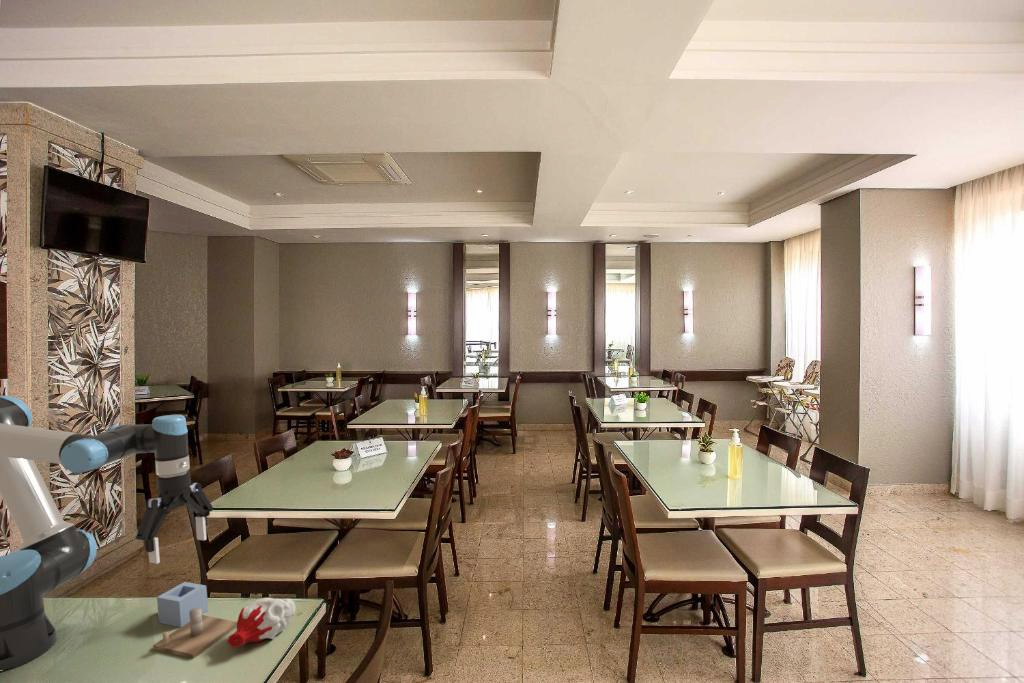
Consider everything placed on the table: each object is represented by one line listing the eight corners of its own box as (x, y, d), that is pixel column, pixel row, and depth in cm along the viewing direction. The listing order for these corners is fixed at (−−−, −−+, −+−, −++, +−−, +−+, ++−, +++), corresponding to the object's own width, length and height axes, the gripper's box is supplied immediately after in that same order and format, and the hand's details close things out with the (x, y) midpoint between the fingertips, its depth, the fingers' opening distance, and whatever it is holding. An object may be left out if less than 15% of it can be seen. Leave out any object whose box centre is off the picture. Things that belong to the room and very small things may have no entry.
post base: (153, 649, 124) (151, 621, 124) (200, 618, 137) (199, 593, 136) (193, 658, 120) (191, 630, 120) (238, 625, 133) (236, 600, 132)
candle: (300, 621, 133) (255, 665, 119) (266, 614, 137) (218, 656, 123) (295, 590, 131) (249, 632, 117) (261, 584, 135) (212, 623, 121)
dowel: (162, 646, 124) (161, 634, 124) (166, 643, 125) (166, 631, 125) (165, 647, 123) (164, 635, 123) (170, 644, 125) (169, 632, 124)
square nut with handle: (207, 610, 140) (206, 585, 140) (181, 627, 133) (179, 601, 132) (177, 603, 144) (175, 580, 144) (149, 620, 136) (147, 595, 136)
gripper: (136, 490, 123) (143, 575, 124) (223, 460, 146) (228, 532, 147) (114, 487, 125) (121, 571, 126) (204, 459, 149) (209, 529, 150)
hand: (179, 550), depth 137 cm, fingers open, 13 cm apart
